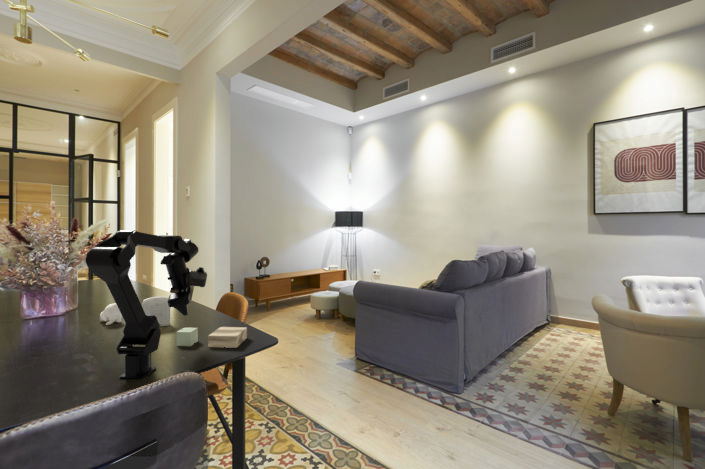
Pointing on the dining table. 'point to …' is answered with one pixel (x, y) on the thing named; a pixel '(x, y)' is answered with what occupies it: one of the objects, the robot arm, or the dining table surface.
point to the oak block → (227, 337)
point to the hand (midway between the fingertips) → (187, 307)
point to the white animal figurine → (111, 314)
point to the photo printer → (158, 309)
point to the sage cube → (187, 336)
